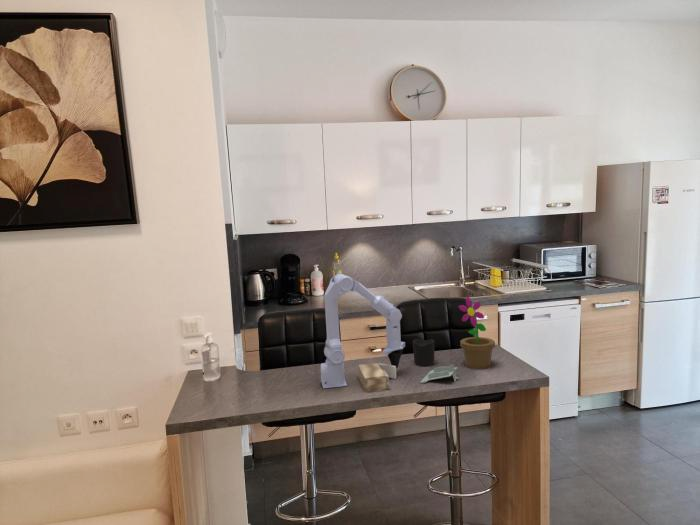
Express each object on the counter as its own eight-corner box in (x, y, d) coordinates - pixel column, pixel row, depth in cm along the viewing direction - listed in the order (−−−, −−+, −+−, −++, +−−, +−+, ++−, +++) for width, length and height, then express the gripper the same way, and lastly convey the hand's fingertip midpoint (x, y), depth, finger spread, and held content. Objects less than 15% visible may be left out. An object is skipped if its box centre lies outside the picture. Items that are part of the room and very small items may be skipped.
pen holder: (422, 368, 206) (421, 345, 205) (409, 362, 214) (408, 340, 213) (439, 363, 211) (438, 341, 209) (426, 358, 219) (425, 337, 218)
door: (395, 378, 194) (394, 366, 194) (379, 375, 199) (378, 364, 198) (396, 378, 195) (395, 366, 195) (380, 375, 200) (380, 363, 199)
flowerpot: (454, 365, 207) (451, 296, 204) (473, 357, 217) (471, 291, 213) (483, 372, 196) (481, 300, 193) (502, 363, 206) (500, 294, 203)
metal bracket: (459, 360, 196) (449, 372, 183) (463, 374, 196) (454, 387, 182) (427, 367, 203) (415, 379, 189) (431, 380, 202) (419, 393, 189)
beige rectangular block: (365, 392, 182) (365, 378, 182) (358, 378, 198) (358, 365, 198) (391, 389, 184) (390, 375, 183) (382, 375, 200) (381, 362, 199)
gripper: (392, 341, 190) (394, 374, 191) (410, 332, 202) (412, 364, 203) (377, 339, 194) (379, 371, 196) (396, 330, 206) (397, 361, 207)
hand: (395, 367), depth 200 cm, fingers closed
